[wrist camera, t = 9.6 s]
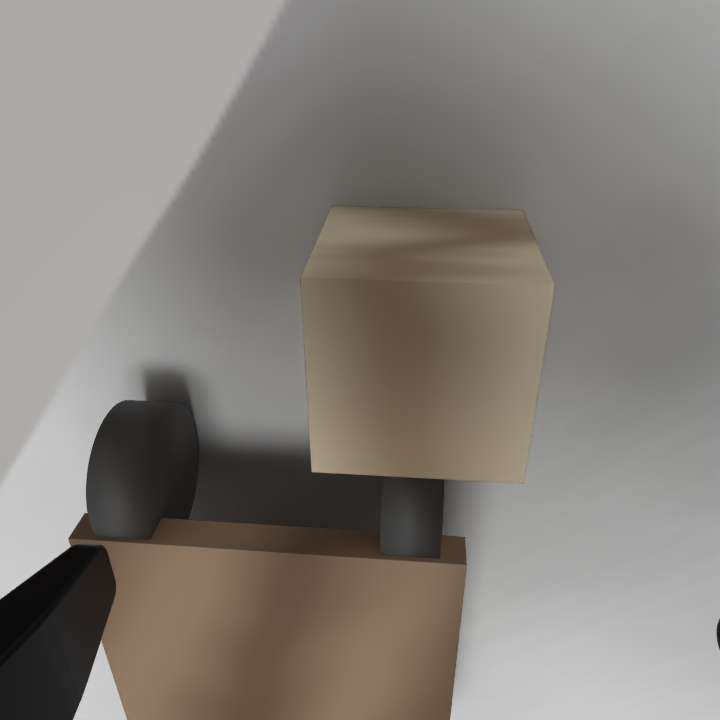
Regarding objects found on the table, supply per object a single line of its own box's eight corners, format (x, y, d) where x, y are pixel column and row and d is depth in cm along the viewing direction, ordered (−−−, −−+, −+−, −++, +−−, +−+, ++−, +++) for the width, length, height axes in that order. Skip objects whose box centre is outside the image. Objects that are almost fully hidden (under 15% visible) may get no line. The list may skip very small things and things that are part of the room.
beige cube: (522, 208, 17) (555, 285, 12) (502, 372, 19) (524, 483, 15) (332, 205, 17) (300, 277, 13) (337, 366, 20) (311, 471, 15)
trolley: (466, 387, 19) (487, 628, 12) (436, 720, 28) (438, 978, 21) (116, 372, 20) (-58, 588, 13) (192, 699, 29) (113, 939, 22)
